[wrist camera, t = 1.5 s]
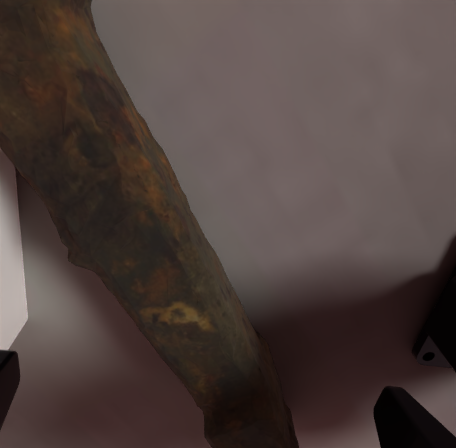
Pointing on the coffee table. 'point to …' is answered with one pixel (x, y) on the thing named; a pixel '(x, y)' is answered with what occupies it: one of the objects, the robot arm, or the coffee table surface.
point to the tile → (10, 258)
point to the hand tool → (131, 217)
